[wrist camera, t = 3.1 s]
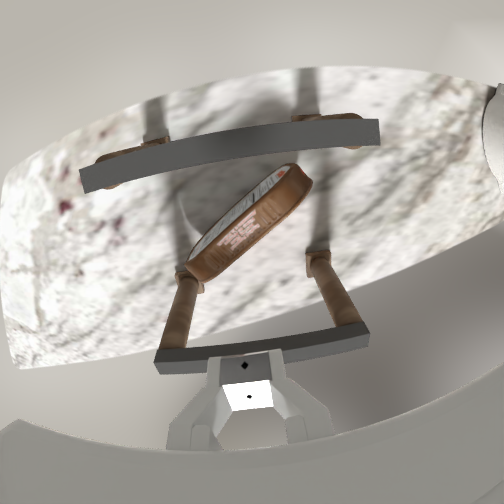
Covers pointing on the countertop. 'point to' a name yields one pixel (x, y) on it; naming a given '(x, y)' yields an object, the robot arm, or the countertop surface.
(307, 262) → the wooden stanchion pair
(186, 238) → the countertop surface
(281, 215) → the tin
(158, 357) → the dark grey beam
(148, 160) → the grey bar
